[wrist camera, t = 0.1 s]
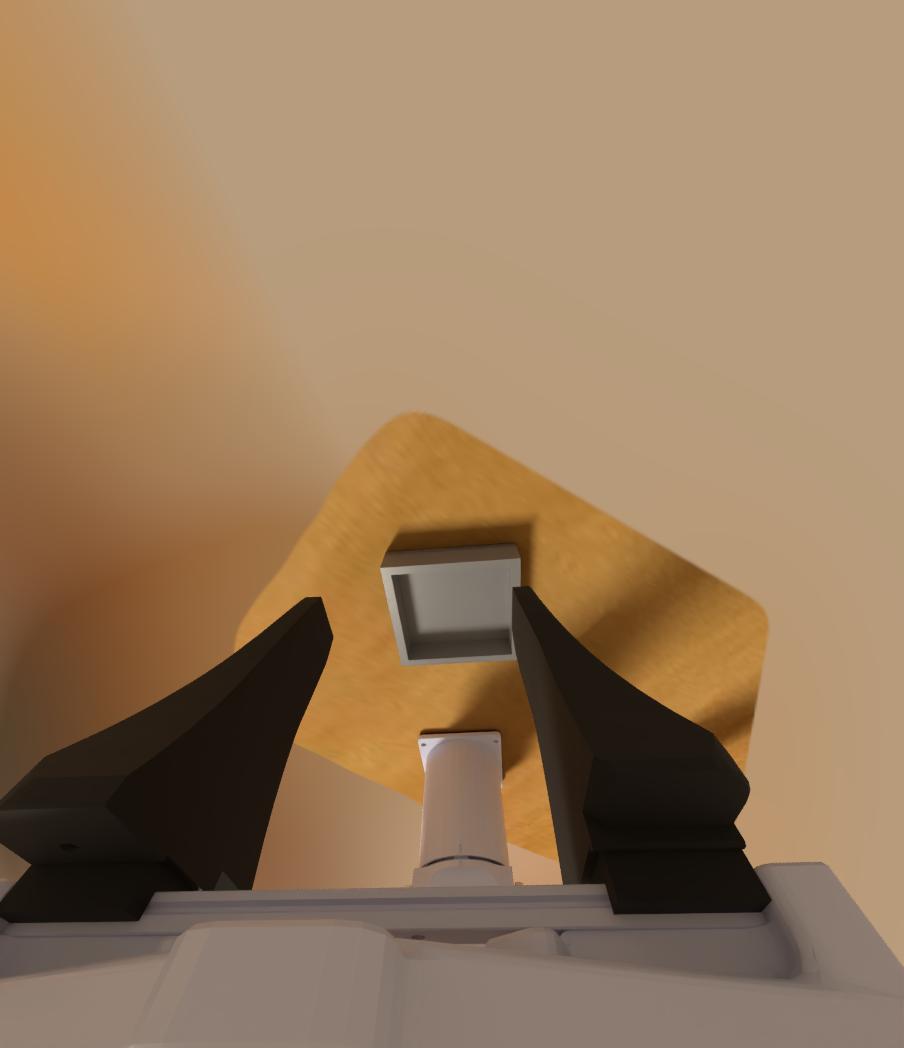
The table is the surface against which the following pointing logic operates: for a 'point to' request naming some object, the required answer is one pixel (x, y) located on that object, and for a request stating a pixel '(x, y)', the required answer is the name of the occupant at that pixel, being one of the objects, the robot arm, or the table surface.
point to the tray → (452, 603)
